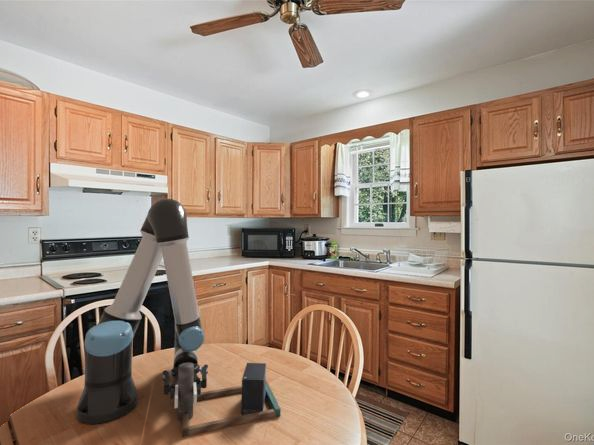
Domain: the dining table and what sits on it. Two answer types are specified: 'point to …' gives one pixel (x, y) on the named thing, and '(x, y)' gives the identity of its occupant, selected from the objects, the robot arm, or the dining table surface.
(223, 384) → the dining table surface
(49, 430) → the dining table surface
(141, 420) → the dining table surface
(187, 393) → the post and rail frame
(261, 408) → the small box
